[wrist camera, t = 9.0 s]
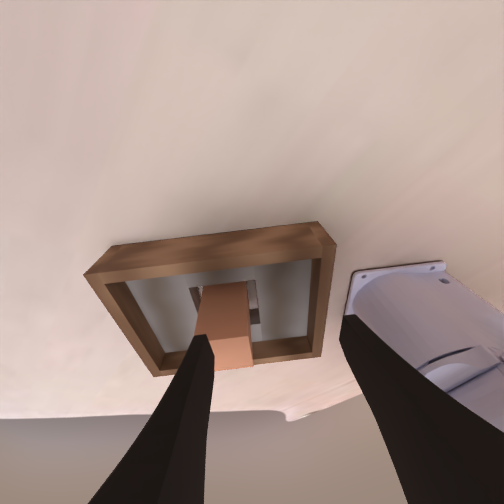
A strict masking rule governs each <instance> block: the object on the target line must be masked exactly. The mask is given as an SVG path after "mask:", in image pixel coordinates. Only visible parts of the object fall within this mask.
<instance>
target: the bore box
mask: <svg viewBox="0 0 504 504" xmlns="http://www.w3.org/2000/svg"><path fill="white" fill-rule="evenodd" d="M336 246H337V244H336V243H335V242H334V241H333V239H332V238H331V237H330V236H329V234H328V233H327V232H326V231H325V230H324V228H323V227H322V226H321V225H320V224H319V222H318V221H317V222H308V223H300V224H292V225H283V226H275V227H267V228H258V229H250V230H242V231H233V232H225V233H217V234H208V235H200V236H192V237H183V238H175V239H167V240H158V241H150V242H142V243H133V244H125V245H117V246H111V247H110V248H109V249H108V250H107V251H106V252H105V253H104V254H103V255H102V256H101V257H100V258H99V259H98V260H97V261H96V262H95V263H94V265H93V266H92V267H91V268H90V269H89V270H88V271H87V272H86V273H85V274H84V277H85V278H86V280H87V281H88V283H89V284H90V286H91V287H92V288H93V290H94V291H95V293H96V294H97V296H98V297H99V299H100V300H101V302H102V303H103V304H104V306H105V307H106V309H107V310H108V312H109V313H110V315H111V316H112V317H113V319H114V320H115V322H116V323H117V325H118V326H119V328H120V329H121V330H122V332H123V333H124V335H125V336H126V338H127V339H128V341H129V342H130V344H131V345H132V346H133V348H134V349H135V351H136V352H137V354H138V355H139V357H140V358H141V359H142V361H143V362H144V364H145V365H146V367H147V368H148V370H149V371H150V372H151V374H152V375H153V377H158V376H167V375H175V374H176V372H177V370H178V368H179V366H180V364H181V362H182V360H183V358H184V356H185V354H186V352H187V350H188V347H189V345H190V343H191V341H192V338H193V337H194V332H195V327H196V322H197V317H198V312H199V307H200V302H201V299H200V296H199V293H198V290H197V287H199V286H207V285H216V284H224V283H232V282H240V281H249V280H255V282H256V291H257V299H258V307H259V309H255V310H249V311H250V324H251V338H252V352H253V365H257V364H265V363H274V362H282V361H290V360H298V359H306V358H315V357H321V353H322V346H323V338H324V331H325V324H326V317H327V310H328V303H329V296H330V289H331V281H332V274H333V267H334V260H335V253H336Z"/></svg>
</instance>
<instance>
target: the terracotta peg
mask: <svg viewBox="0 0 504 504" xmlns="http://www.w3.org/2000/svg"><path fill="white" fill-rule="evenodd" d="M201 334H206V335H207V337H208V340H209V343H210V345H211V348H212V350H213V353H214V356H215V365H214V371H220V370H228V369H237V368H245V367H253V366H254V365H253V352H252V338H251V324H250V311H249V300H248V294H247V287H246V281H240V282H232V283H224V284H216V285H207V286H203V292H202V297H201V302H200V307H199V312H198V317H197V322H196V327H195V332H194V336H195V335H201Z"/></svg>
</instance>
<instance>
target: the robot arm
mask: <svg viewBox="0 0 504 504" xmlns="http://www.w3.org/2000/svg"><path fill="white" fill-rule="evenodd" d="M446 267H447V264H446V263H445V262H443V261H440V262H432V263H423V264H415V265H407V266H398V267H390V268H382V269H373V270H365V271H358V272H355V273H354V274H353V276H352V281H351V286H350V291H349V296H348V300H347V305H346V310H345V315H343V320H342V325H341V331H340V337H339V341H340V344H341V347H342V349H343V352H344V355H345V357H346V360H347V362H348V364H349V366H350V368H351V370H352V372H353V374H354V376H355V378H356V380H357V382H358V384H359V386H360V388H361V390H362V392H363V394H364V396H365V398H366V400H367V402H368V404H369V406H370V408H371V410H372V412H373V415H374V417H375V419H376V421H377V424H378V426H379V429H380V431H381V434H382V436H383V439H384V441H385V444H386V446H387V449H388V451H389V454H390V456H391V459H392V462H393V464H394V467H395V469H396V472H397V475H398V478H399V480H400V483H401V485H402V488H403V491H404V494H405V497H406V499H407V502H408V504H504V314H503V313H502V312H500V311H499V310H498V309H496V308H495V307H493V306H492V305H491V304H489V303H488V302H486V301H485V300H484V299H482V298H481V297H479V296H478V295H477V294H475V293H474V292H473V291H471V290H470V289H468V288H467V287H466V286H464V285H463V284H461V283H460V282H459V281H457V280H456V279H454V278H453V277H452V276H450V275H449V274H447V273H446V272H445V269H446ZM214 365H215V356H214V353H213V350H212V348H211V345H210V343H209V340H208V337H207V335H206V334H201V335H195V336H194V337H193V338H192V341H191V343H190V345H189V347H188V350H187V352H186V354H185V356H184V358H183V360H182V362H181V364H180V366H179V368H178V370H177V372H176V374H175V376H174V378H173V379H172V381H171V383H170V385H169V387H168V388H167V390H166V392H165V394H164V395H163V397H162V399H161V401H160V402H159V404H158V406H157V407H156V409H155V411H154V412H153V414H152V415H151V417H150V419H149V420H148V422H147V423H146V425H145V426H144V428H143V429H142V431H141V432H140V434H139V435H138V437H137V438H136V440H135V441H134V443H133V444H132V445H131V447H130V448H129V450H128V451H127V453H126V454H125V455H124V457H123V458H122V460H121V461H120V462H119V464H118V465H117V466H116V468H115V469H114V470H113V472H112V473H111V474H110V476H109V477H108V478H107V479H106V481H105V482H104V484H103V485H102V486H101V487H100V489H99V490H98V491H97V492H96V494H95V495H94V496H93V498H92V499H91V500H90V502H89V503H88V504H204V480H205V459H206V440H207V439H206V438H207V429H208V421H209V414H210V406H211V398H212V390H213V382H214Z"/></svg>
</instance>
